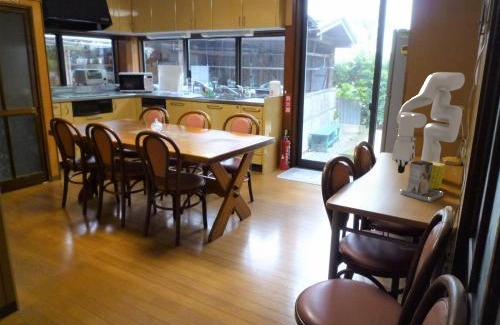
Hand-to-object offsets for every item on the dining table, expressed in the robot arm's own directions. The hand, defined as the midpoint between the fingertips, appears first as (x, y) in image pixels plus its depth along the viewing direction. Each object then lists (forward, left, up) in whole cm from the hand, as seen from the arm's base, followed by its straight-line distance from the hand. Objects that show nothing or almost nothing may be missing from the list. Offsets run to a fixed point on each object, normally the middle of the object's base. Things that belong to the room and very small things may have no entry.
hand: (400, 172), depth 195 cm
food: (-14, +11, -8) cm, 20 cm away
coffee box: (+2, +10, -8) cm, 13 cm away
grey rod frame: (+3, +13, -8) cm, 16 cm away
